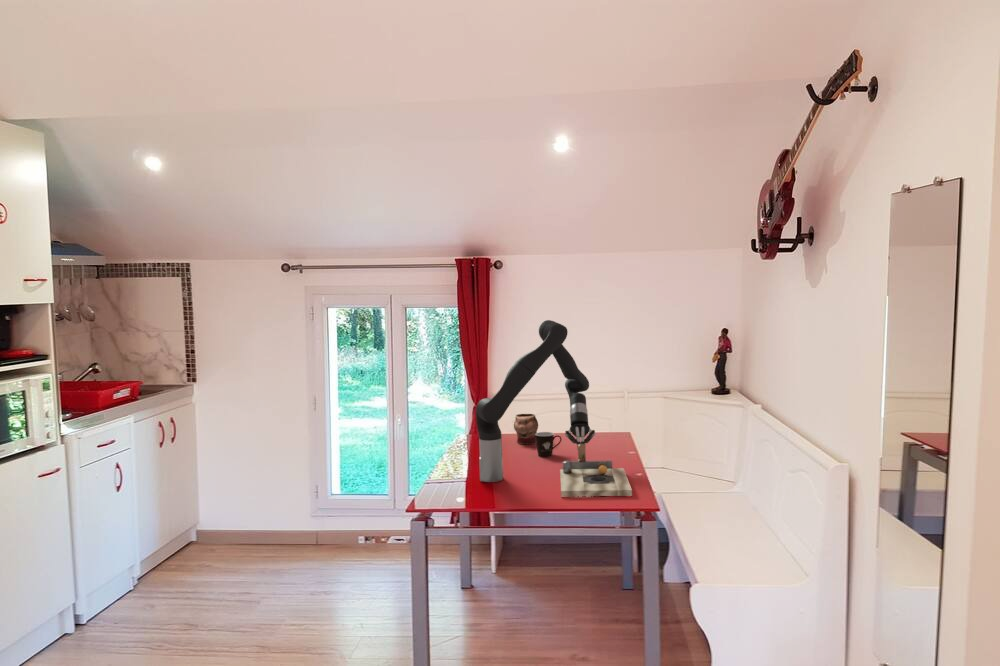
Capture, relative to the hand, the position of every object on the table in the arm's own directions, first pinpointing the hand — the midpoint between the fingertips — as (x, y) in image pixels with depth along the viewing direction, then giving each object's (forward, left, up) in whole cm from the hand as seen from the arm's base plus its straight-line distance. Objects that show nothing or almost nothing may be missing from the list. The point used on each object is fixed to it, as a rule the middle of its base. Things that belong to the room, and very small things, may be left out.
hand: (581, 451), depth 274 cm
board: (+4, -15, -10) cm, 18 cm away
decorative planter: (-25, +57, -10) cm, 63 cm away
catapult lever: (+2, -6, -7) cm, 9 cm away
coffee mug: (-14, +30, -10) cm, 35 cm away
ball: (+8, -9, -5) cm, 13 cm away
